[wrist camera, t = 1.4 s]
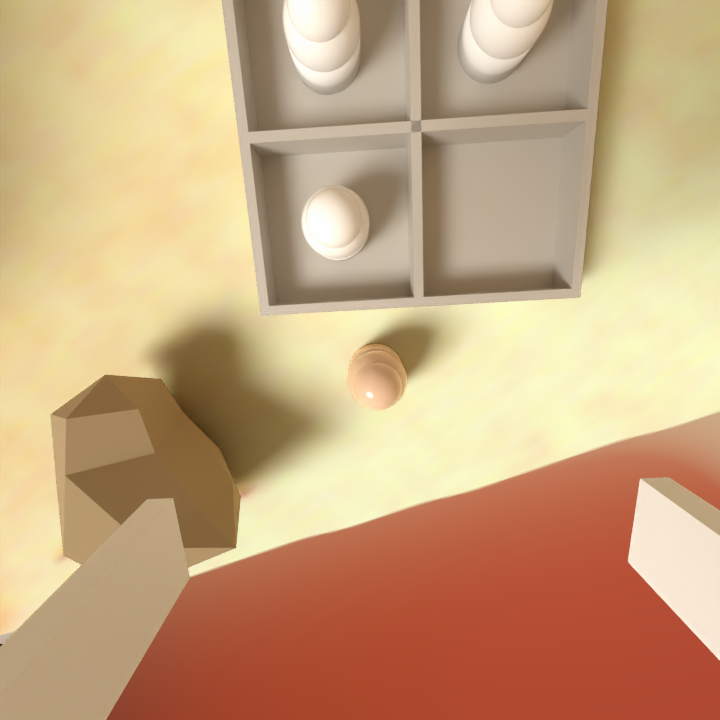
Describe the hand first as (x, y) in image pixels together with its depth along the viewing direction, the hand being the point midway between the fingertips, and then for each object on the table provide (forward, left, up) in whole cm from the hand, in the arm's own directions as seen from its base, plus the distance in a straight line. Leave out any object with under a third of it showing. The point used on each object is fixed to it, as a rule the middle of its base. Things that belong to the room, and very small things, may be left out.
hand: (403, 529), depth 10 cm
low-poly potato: (-16, -5, -18) cm, 24 cm away
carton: (+3, +16, -17) cm, 23 cm away
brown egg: (0, 0, -17) cm, 17 cm away
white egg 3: (+8, +21, -17) cm, 28 cm away
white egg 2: (-2, +10, -17) cm, 20 cm away
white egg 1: (-2, +21, -17) cm, 27 cm away
